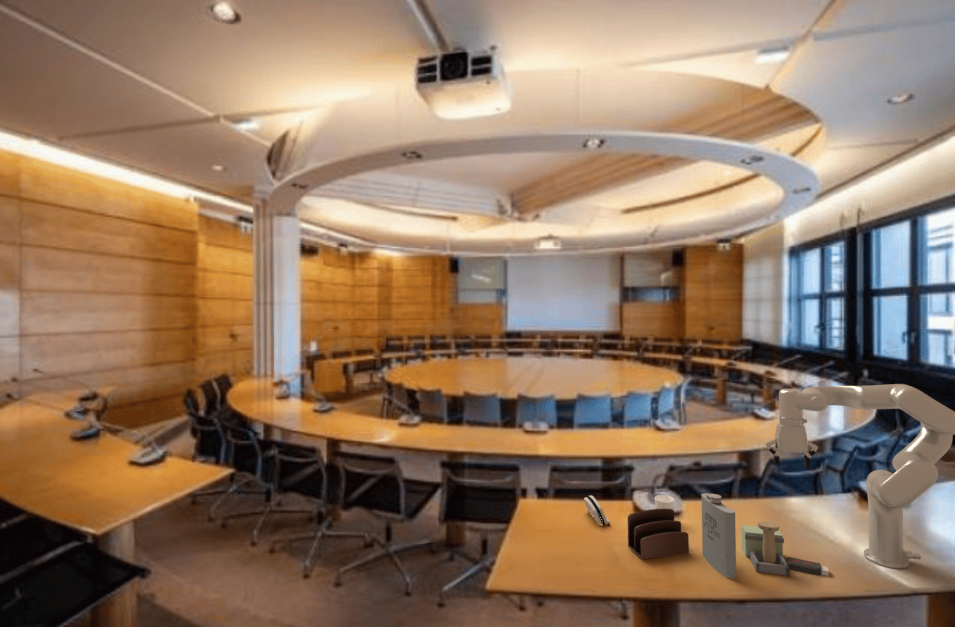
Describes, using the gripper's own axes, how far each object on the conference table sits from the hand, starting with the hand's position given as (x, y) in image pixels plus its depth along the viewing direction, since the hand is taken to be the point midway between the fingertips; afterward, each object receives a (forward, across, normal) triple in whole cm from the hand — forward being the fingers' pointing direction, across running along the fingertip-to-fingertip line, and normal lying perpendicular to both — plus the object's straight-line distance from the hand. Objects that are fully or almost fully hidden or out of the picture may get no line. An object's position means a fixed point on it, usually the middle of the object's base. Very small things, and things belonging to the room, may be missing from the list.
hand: (791, 466), depth 188 cm
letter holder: (+31, +50, +15) cm, 60 cm away
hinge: (+31, +74, -8) cm, 80 cm away
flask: (+31, +30, +22) cm, 48 cm away
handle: (+31, +13, +19) cm, 38 cm away
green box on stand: (+30, +13, +15) cm, 36 cm away
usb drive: (+31, +1, +18) cm, 36 cm away
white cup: (+31, +45, -11) cm, 55 cm away
